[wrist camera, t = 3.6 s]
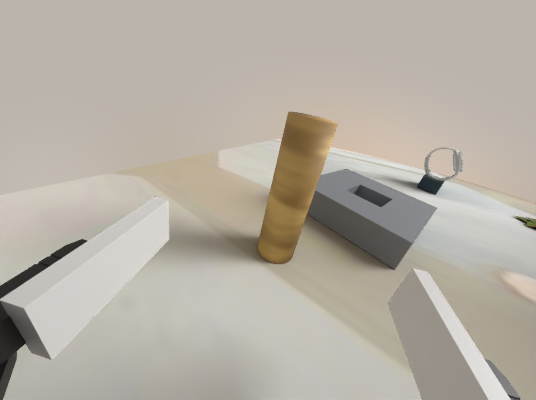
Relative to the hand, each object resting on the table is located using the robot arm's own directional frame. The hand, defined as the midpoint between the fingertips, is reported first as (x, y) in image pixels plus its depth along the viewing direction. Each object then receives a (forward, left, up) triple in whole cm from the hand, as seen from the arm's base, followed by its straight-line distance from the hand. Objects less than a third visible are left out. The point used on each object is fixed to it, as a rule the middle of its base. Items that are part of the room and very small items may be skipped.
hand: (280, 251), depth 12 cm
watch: (-61, +1, -8) cm, 61 cm away
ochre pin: (-8, -5, -8) cm, 12 cm away
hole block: (-26, -3, -8) cm, 27 cm away
